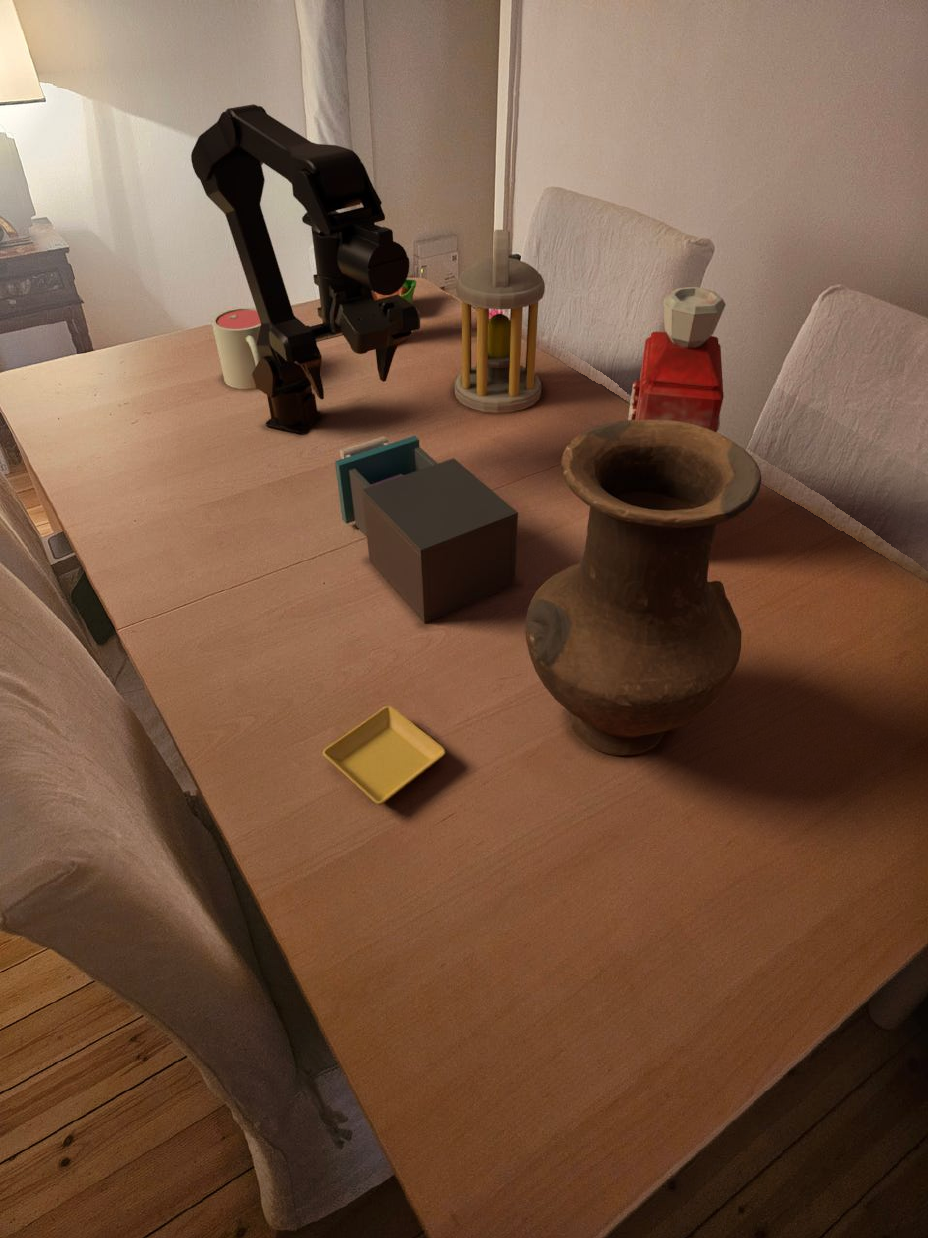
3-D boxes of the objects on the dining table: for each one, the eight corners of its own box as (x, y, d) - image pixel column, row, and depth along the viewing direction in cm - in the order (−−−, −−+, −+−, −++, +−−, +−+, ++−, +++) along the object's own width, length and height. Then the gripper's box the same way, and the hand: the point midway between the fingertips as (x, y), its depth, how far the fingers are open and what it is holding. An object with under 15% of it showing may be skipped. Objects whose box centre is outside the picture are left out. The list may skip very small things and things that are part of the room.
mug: (218, 370, 141) (206, 313, 134) (271, 360, 144) (261, 303, 137) (237, 405, 132) (225, 345, 125) (293, 393, 135) (284, 334, 128)
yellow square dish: (322, 764, 79) (319, 751, 78) (390, 716, 84) (388, 702, 82) (380, 819, 75) (378, 805, 73) (448, 765, 79) (448, 751, 78)
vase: (717, 670, 88) (790, 419, 68) (706, 819, 74) (794, 561, 54) (541, 637, 92) (561, 391, 72) (500, 773, 78) (510, 516, 58)
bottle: (692, 564, 101) (748, 327, 81) (609, 554, 103) (643, 319, 83) (692, 499, 112) (742, 274, 91) (616, 490, 113) (649, 268, 93)
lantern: (456, 371, 140) (454, 214, 123) (539, 372, 140) (549, 215, 123) (452, 412, 130) (449, 247, 113) (542, 413, 129) (553, 248, 112)
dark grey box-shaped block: (369, 561, 102) (361, 489, 95) (455, 528, 107) (453, 457, 100) (424, 623, 94) (420, 550, 87) (514, 585, 99) (518, 512, 92)
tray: (328, 504, 110) (320, 446, 104) (403, 478, 114) (399, 422, 108) (387, 570, 99) (382, 510, 94) (467, 539, 104) (466, 480, 98)
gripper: (295, 309, 90) (313, 435, 101) (441, 275, 97) (443, 395, 108) (257, 277, 97) (278, 397, 108) (396, 247, 104) (402, 363, 115)
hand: (352, 389), depth 110 cm, fingers open, 9 cm apart
